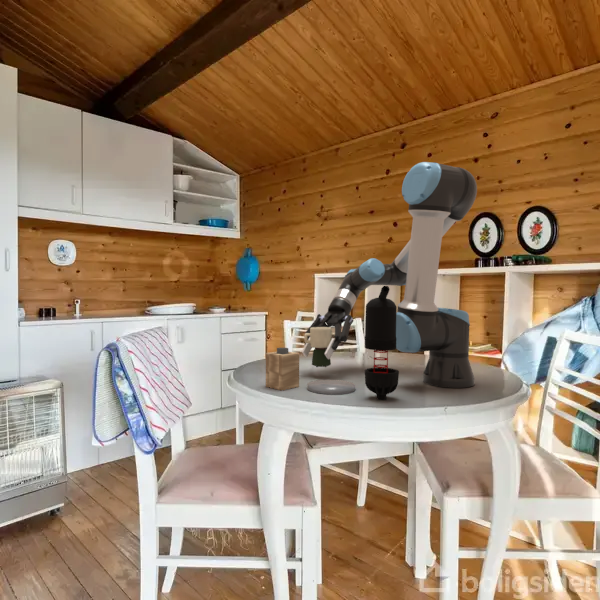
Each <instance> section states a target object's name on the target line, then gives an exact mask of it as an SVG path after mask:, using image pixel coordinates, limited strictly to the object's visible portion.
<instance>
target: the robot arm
mask: <svg viewBox="0 0 600 600" xmlns="http://www.w3.org/2000/svg"><path fill="white" fill-rule="evenodd" d="M401 186H402V187H401V195H402V197H403V200H404V202H406V203H407V204H408V210H407V211H408V213H409V215H410V216H411V217H412V224H411V231H410V232H411V234H410V239H409V241H407V243H406V245H405V246H404V247H403V248H402V250H401V251H400V253H399V254H398V255H396V257H395V259H394V260H393V261H392V262H391V263H383V262H382V261H381V260H379V259H377V258H373V257H371V258H369V259H368V260H366V261H364V262H363V263H361V264H360V265H359V266H358V267H356V268H351V269H350V270H348V271H347V273H346V274H345V275H344V277H343V280H342V282H341V284H340V285H339V287H338V290H337V291H336V293H335V295H334V297H333V298H332V300H331V302H330V304H329V306H328V308H327V309H328V310H327V312H326V313H325V314H324V315H321V313H320V314H319V313H318V314H317V315H316V318H315V319H314V321H313V322H312V323H311V324H310V326H309V327H308V328H307V330H306V331H305V333H310V328H313V327H330V328H332V327H334V333H335V336H333V337H334V338H333V337H332V340H331V342H330V344H329V346H328V348H327V350H326V352H325V356H326V357H327V359H330V360H331V357H332V356H333V354H334V352H335V351H337V349H338V347H339V346H340V344H341V343H342V342H343V343H346V342H347V341H348V338H349V333H350V330H351V326H352V324H353V322H354V321H355V319H354V318H353V317H352V315H351V314H350V313H351V312H352V310H353V308H354V305H355V303H356V302H357V300H358V299H359V296H360V294H361V293H362V292H363V291H365V290H366V289H367V288H369V287H371V286H396V287H397V286H400V287H402V286H405V287H404V295H403V300H401V302H399V303H398V304H397V312H396V339H397V340H396V343H397V344H396V349H395V350H397V351H399V352H403V353H411V354H413V353H414V354H416V353H420V352H422V353H423V352H428V353H429V355H428V360H427V362H426V365H425V368H424V372H423V375H422V382H423V383H424V384H426V385H430V386H433V387H434V386H435V387H441V388H453V389H455V388H457V389H459V388H469V387H470V388H471V387H474V386H475V376H474V375H475V374H474V372H473V369H472V366H471V361H470V360H469V358H470V355H469V354H470V353H469V352H470V351H469V350H470V326H471V324H470V315H469V313H468V311H466V310H462V309H456V308H448V307H447V308H446V307H438V306H437V305H436V304H435V297H436V288H437V281H438V271H439V264H440V255H441V249H442V248H441V247H442V240H443V236H445V235H446V234H447V232H448V231H449V230H450V228H451V227H452V226H453V225H454V224H455V223H456V222H461V221H462V220H463V219H464V217H465V216H466V215H467V214H468V213H469V211H470V210H471V209H472V207H473V205H474V203H475V202H476V201H475V200H476V199H477V193H478V183H477V181H476V179H475V177H474V175H473V174H472V173H471V172H470V171H468V170H467V169H465V168H463V167H460V166H459V167H458V166H452V165H447V164H444V163H443V164H442V163H438V162H429V161H422V162H418V163H416V164H415V165H413V166H412V167H411V168H410V170H409V171H407V173H406V175H405V177H404V179H403V181H402V185H401ZM342 324H343V326H342ZM305 333H304V334H305ZM307 340H310V336H307ZM312 348H313V347H311V345H310V343H305V342H304V345H303V348H302V350H301V353H302V354H303V356H304V357H305V358H308V356H309V353H310V352H311V351H312Z"/></svg>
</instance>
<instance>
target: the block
mask: <svg viewBox="0 0 600 600" xmlns="http://www.w3.org/2000/svg"><path fill="white" fill-rule="evenodd" d="M269 387H270V389H273V388H274V389H275V390H278V391H282V390H283V391H287V390H291V388H292V389H296V388H299V387H300V353H299V352H293V351H288V354H277V351H272V352H271V351H270V352H265V388H269ZM295 387H296V388H295ZM286 389H287V390H286Z"/></svg>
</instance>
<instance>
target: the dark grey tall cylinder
mask: <svg viewBox="0 0 600 600" xmlns="http://www.w3.org/2000/svg"><path fill="white" fill-rule="evenodd" d="M276 352H277V354H288V352H289V348H288V347H277V348H276Z"/></svg>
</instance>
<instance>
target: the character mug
mask: <svg viewBox="0 0 600 600" xmlns="http://www.w3.org/2000/svg"><path fill="white" fill-rule="evenodd" d="M307 336H310V340H307ZM334 336H335V332H333V329H332V327H313V328H310V333H304V337H303V338H304V344H305V343H310V345H311V347H312V348H314V349H313V351H312V357H311V365H312V366H314V367H316V368H319V367H320V368H327V367H329V366H331V365H332V362H331V358H330V359H327V357H326V356H325V352H326V350H327V348H328V346H329V344H330V342H331V340H332V338H333V337H334Z"/></svg>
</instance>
